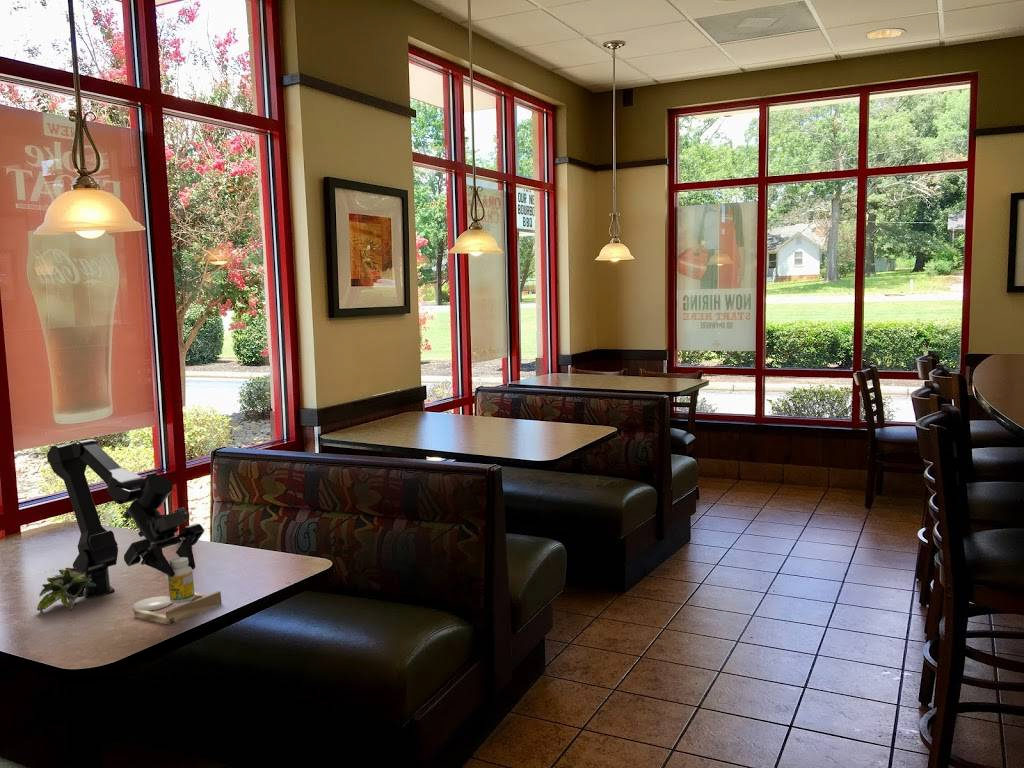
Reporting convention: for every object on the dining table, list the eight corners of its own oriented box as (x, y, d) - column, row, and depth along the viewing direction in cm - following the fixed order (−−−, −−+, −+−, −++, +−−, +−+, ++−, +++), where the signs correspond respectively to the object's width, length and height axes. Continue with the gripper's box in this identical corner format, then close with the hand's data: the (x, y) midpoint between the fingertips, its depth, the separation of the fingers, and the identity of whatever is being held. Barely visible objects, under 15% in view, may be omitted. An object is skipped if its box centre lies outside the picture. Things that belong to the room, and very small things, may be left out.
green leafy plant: (73, 622, 204) (98, 576, 208) (79, 627, 195) (105, 579, 200) (27, 606, 199) (54, 559, 203) (31, 610, 190) (59, 561, 195)
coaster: (128, 605, 199) (127, 603, 199) (166, 595, 205) (166, 593, 205) (139, 614, 192) (139, 612, 192) (178, 604, 198) (178, 602, 198)
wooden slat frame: (134, 616, 191) (133, 604, 190) (186, 596, 203) (185, 584, 203) (169, 625, 184) (168, 612, 184) (221, 603, 197) (220, 591, 197)
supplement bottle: (199, 597, 194) (196, 557, 193) (180, 605, 189) (177, 564, 188) (184, 594, 196) (181, 554, 195) (164, 601, 192) (161, 561, 191)
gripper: (127, 508, 184) (163, 563, 180) (196, 490, 200) (231, 540, 196) (108, 539, 189) (143, 592, 185) (177, 518, 205) (211, 567, 201)
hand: (184, 571), depth 191 cm, fingers closed on supplement bottle, 5 cm apart
